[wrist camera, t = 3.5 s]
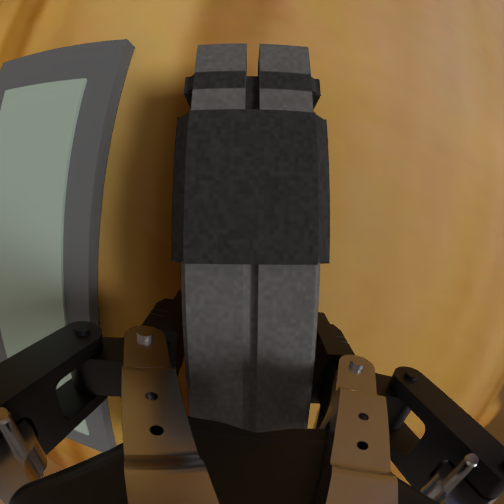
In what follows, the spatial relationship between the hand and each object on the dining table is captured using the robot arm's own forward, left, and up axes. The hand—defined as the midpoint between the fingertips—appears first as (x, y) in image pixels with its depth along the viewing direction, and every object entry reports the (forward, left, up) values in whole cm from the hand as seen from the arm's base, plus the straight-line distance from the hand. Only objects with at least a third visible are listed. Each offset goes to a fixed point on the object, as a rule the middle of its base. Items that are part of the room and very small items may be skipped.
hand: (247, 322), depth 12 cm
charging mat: (+1, -12, -1) cm, 12 cm away
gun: (0, 0, -1) cm, 1 cm away
